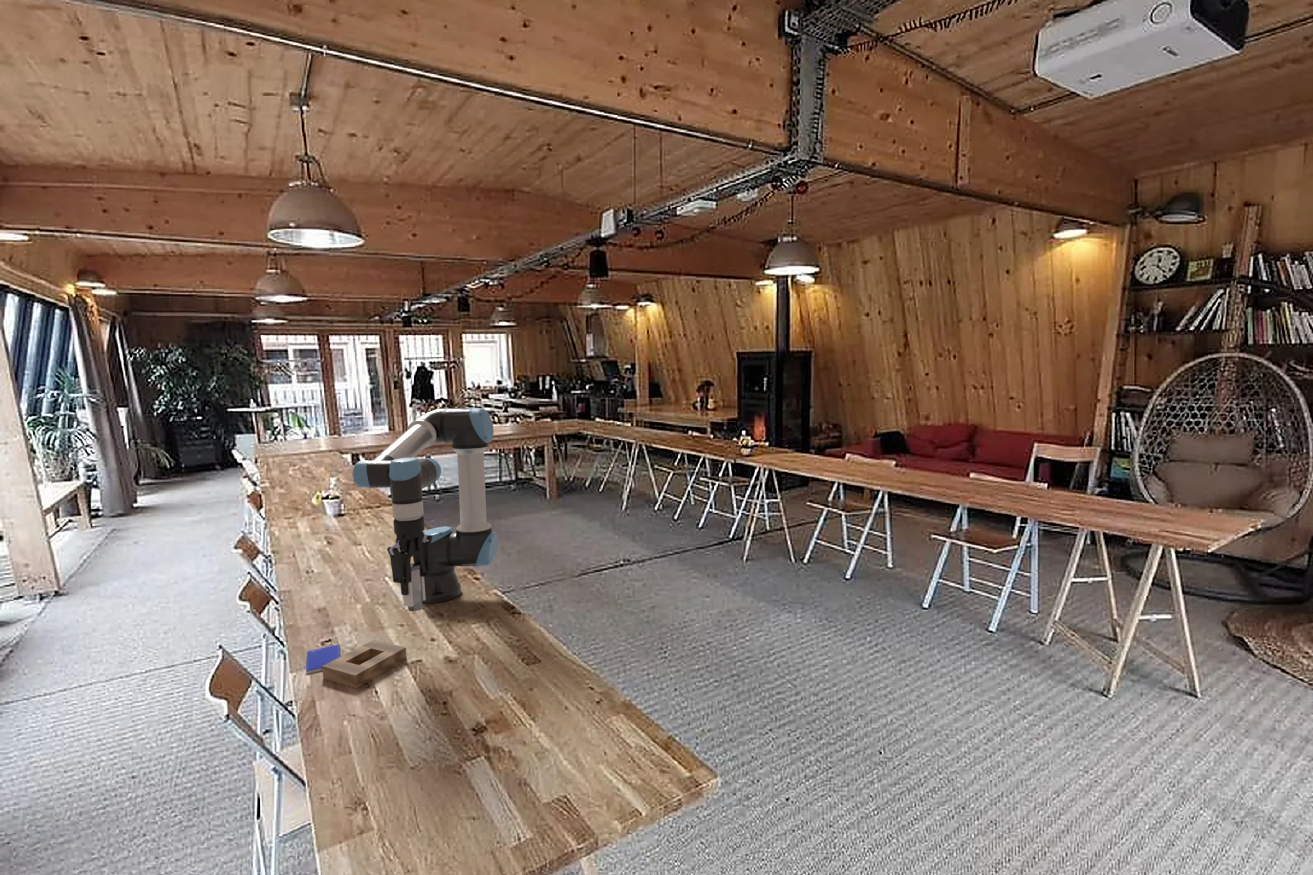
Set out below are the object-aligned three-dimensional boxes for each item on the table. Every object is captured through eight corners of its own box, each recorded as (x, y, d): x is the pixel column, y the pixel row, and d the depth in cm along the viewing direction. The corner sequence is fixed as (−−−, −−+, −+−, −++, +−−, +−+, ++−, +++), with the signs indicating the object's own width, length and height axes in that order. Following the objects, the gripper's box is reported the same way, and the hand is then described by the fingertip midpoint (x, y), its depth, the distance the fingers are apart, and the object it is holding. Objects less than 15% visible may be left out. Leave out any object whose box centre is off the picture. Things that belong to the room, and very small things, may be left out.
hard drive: (306, 651, 171) (305, 670, 160) (339, 644, 174) (340, 662, 164) (307, 656, 171) (306, 676, 160) (340, 649, 175) (341, 668, 164)
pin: (415, 605, 166) (412, 562, 165) (425, 607, 165) (422, 564, 163) (404, 610, 163) (401, 566, 161) (415, 612, 162) (412, 568, 160)
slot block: (374, 651, 172) (373, 639, 171) (406, 659, 167) (405, 647, 166) (323, 679, 157) (322, 666, 157) (356, 688, 152) (355, 675, 152)
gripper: (421, 508, 170) (427, 589, 173) (372, 523, 155) (379, 612, 158) (442, 510, 167) (447, 593, 170) (394, 526, 152) (401, 616, 155)
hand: (414, 602), depth 164 cm, fingers closed on pin, 3 cm apart
